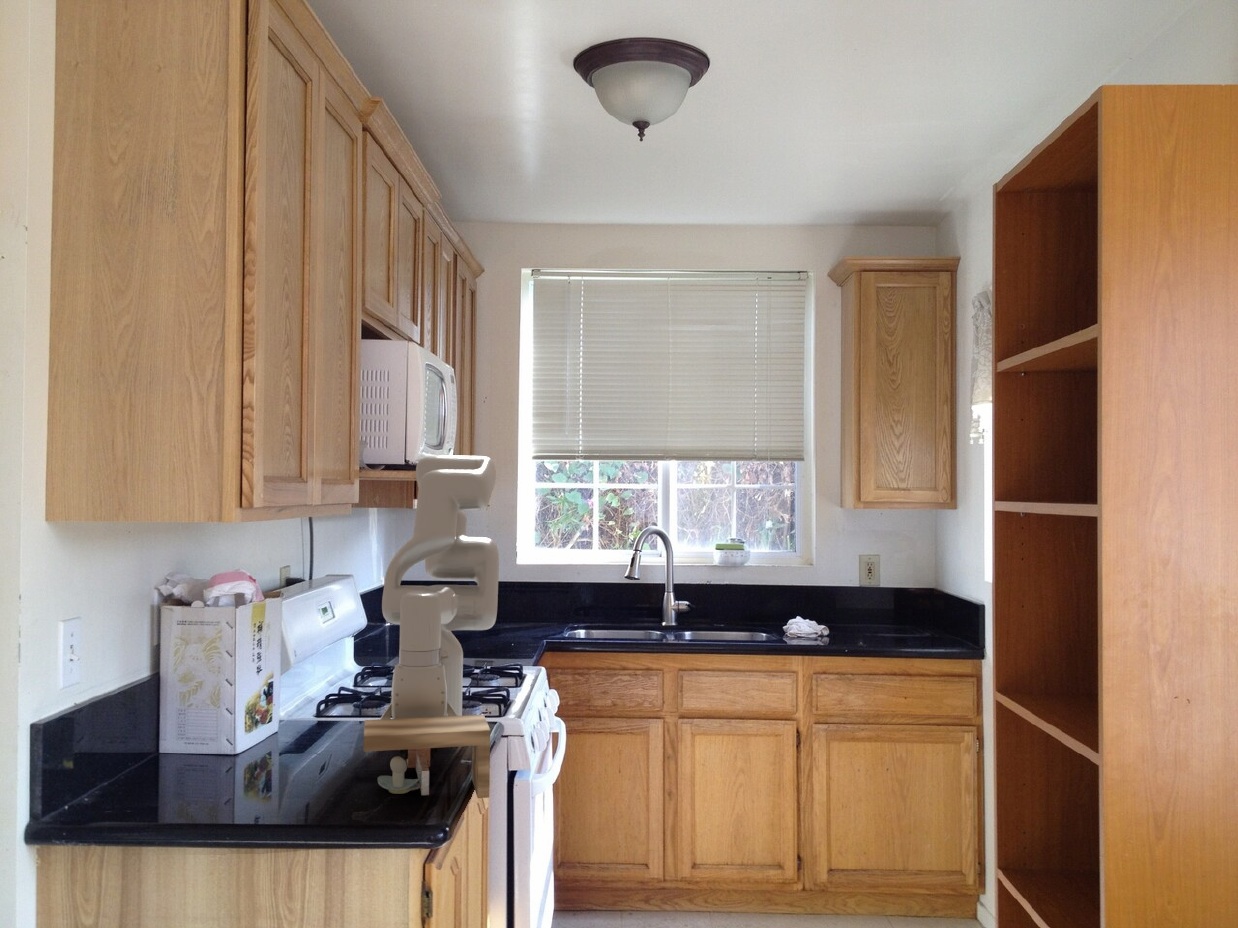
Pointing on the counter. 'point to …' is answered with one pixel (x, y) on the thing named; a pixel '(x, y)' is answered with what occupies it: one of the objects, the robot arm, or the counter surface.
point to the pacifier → (398, 778)
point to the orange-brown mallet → (420, 766)
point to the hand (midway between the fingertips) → (418, 755)
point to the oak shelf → (436, 739)
